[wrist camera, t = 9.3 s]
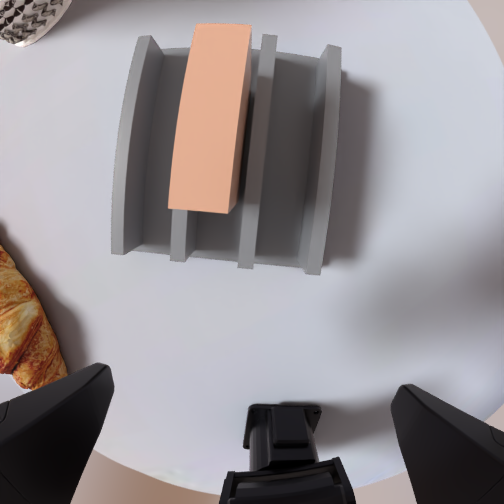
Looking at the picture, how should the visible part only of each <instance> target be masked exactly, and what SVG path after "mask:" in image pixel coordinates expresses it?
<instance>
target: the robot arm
mask: <svg viewBox="0 0 504 504" xmlns="http://www.w3.org/2000/svg"><path fill="white" fill-rule="evenodd" d="M113 393H114V382H113V377H112V373H111V368H110V367H109V366H108V365H106V364H102V363H95V364H92V365H90V366H88V367H86V368H83V369H81V370H79V371H77V372H74V373H72V374H70V375H68V376H65V377H63V378H61V379H59V380H56V381H54V382H52V383H49V384H47V385H45V386H42V387H40V388H38V389H35V390H33V391H30V392H28V393H26V394H23V395H21V396H18V397H16V398H13V399H11V400H10V401H6V402H3V403H1V404H0V504H70V503H71V500H72V498H73V495H74V493H75V490H76V487H77V485H78V483H79V480H80V478H81V475H82V473H83V471H84V468H85V466H86V464H87V461H88V459H89V457H90V455H91V452H92V450H93V448H94V445H95V443H96V441H97V439H98V437H99V434H100V432H101V429H102V427H103V424H104V420H105V417H106V414H107V411H108V408H109V405H110V402H111V399H112V396H113ZM253 410H255V411H253ZM315 411H316V412H315ZM321 413H322V411H321V408H320V407H319V406H266V405H251V406H249V408H248V413H247V420H246V427H245V434H244V440H243V448H244V449H250V471H248V472H235V471H228V473H227V477H226V479H225V480H224V484H223V489H222V493H221V497H220V501H219V504H356V500H355V496H354V492H353V489H352V486H351V484H350V481H349V479H348V477H347V474H346V472H345V470H344V467H343V465H342V462H341V460H340V458H339V457H335V458H332V459H331V460H327V461H322V462H319V458H318V454H317V449H316V445H315V441H314V436H313V433H314V431H315V428H316V426H317V423H318V421H319V418H320V415H321ZM391 413H392V417H393V421H394V425H395V429H396V434H397V438H398V443H399V446H400V450H401V453H402V456H403V459H404V462H405V465H406V468H407V471H408V474H409V478H410V481H411V484H412V488H413V491H414V494H415V498H416V502H417V504H504V432H503V431H501V430H498V429H496V428H494V427H492V426H489V425H488V424H486V423H484V422H482V421H480V420H479V419H477V418H475V417H473V416H471V415H469V414H467V413H465V412H463V411H461V410H459V409H457V408H456V407H454V406H452V405H450V404H448V403H446V402H444V401H442V400H441V399H439V398H437V397H435V396H433V395H431V394H430V393H428V392H426V391H424V390H422V389H420V388H419V387H417V386H415V385H413V384H405V385H401V386H400V387H399V389H398V391H397V393H396V395H395V397H394V399H393V401H392V403H391Z"/></svg>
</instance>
